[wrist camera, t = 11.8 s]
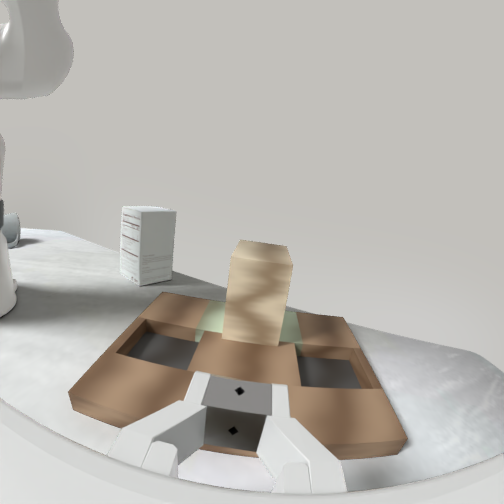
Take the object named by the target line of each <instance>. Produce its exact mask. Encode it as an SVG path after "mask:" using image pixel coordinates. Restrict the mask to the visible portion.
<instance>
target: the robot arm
mask: <svg viewBox="0 0 504 504" xmlns="http://www.w3.org/2000/svg"><path fill="white" fill-rule="evenodd" d="M0 1H1V2H2V3H3V4H4V5H5V6H6V7H7V9H8V12H9V23H0V99H27V98H35V97H41V96H48V95H50V94H51V93H52V92H53V91H55V90H56V89H57V88H58V87H59V86H60V85H61V83H62V82H63V81H64V79H65V78H66V76H67V75H68V73H69V70H70V68H71V65H72V62H73V54H74V53H73V52H74V51H73V43H72V40H71V38H70V36H69V35H68V33H67V32H66V31H65V29H64V27H63V25H62V23H61V20H60V17H59V12H58V0H0ZM4 155H5V143H4V140H3V137H2V136H1V134H0V317H1V316H3V315H5V314H6V313H7V312H9V311H10V310H11V309H12V308H13V307H14V305H15V304H16V301H17V297H16V294H15V291H16V289H17V282H16V280H15V279H13V278H12V272H11V267H10V260H9V254H8V247H7V240H6V237H5V236H4V235H3V233H2V230H1V228H2V227H3V225H4V208H3V206H4V204H3V200H1V191H2V176H3V165H4ZM203 444H208V445H214V446H220V447H227V448H234V449H240V450H246V451H253V452H256V453H257V455H258V457H259V458H260V460H261V461H262V463H263V464H264V466H265V467H266V469H267V470H268V472H269V473H270V475H271V476H272V478H273V479H274V481H275V482H276V483H275V485H274V487H273V489H272V491H271V493H269V492H257V491H247V490H238V489H231V488H224V487H218V486H212V485H207V484H201V483H196V482H192V481H187V480H183V479H179V478H178V465H179V464H180V463H182V462H183V461H184V460H186V459H187V458H188V457H189V456H191V455H192V454H193V453H194V452H195V451H197V450H198V449H199V448H200V447H202V446H203ZM0 504H504V453H502V454H500V455H497V456H495V457H493V458H490V459H488V460H485V461H483V462H480V463H477V464H475V465H472V466H469V467H466V468H463V469H460V470H457V471H454V472H451V473H447V474H444V475H441V476H437V477H433V478H429V479H425V480H421V481H417V482H412V483H407V484H402V485H397V486H391V487H385V488H378V489H371V490H363V491H353V492H347V488H346V483H345V478H344V473H343V469H342V464H341V461H339V460H338V459H337V458H336V457H335V456H334V455H333V454H332V453H331V452H330V451H329V450H327V449H326V448H325V447H324V446H323V445H322V444H321V443H320V442H319V441H318V440H317V439H316V438H315V437H314V436H313V435H312V434H311V433H310V432H309V431H308V430H306V429H305V428H304V427H303V426H302V425H301V424H300V423H299V422H298V421H297V420H296V419H295V418H291V417H290V405H289V394H288V386H287V385H284V384H273V383H272V384H269V383H261V382H253V381H246V380H241V379H235V378H230V377H225V376H220V375H215V374H210V373H205V372H200V371H196V372H195V373H194V375H193V378H192V380H191V383H190V385H189V388H188V391H187V393H186V396H185V398H184V401H181V400H178V401H176V402H175V403H173V404H171V405H169V406H167V407H165V408H163V409H161V410H159V411H157V412H155V413H153V414H151V415H149V416H147V417H145V418H143V419H140V420H138V421H136V422H134V423H132V424H130V425H128V426H125V427H123V428H122V429H121V431H120V433H119V434H118V436H117V438H116V440H115V441H114V443H113V445H112V447H111V448H110V450H109V452H108V454H107V456H106V455H104V454H101V453H99V452H97V451H94V450H92V449H90V448H87V447H85V446H83V445H81V444H79V443H76V442H74V441H72V440H70V439H68V438H66V437H64V436H62V435H60V434H58V433H56V432H55V431H53V430H51V429H49V428H47V427H45V426H44V425H42V424H40V423H38V422H37V421H35V420H33V419H32V418H30V417H28V416H27V415H25V414H24V413H22V412H20V411H19V410H17V409H16V408H14V407H13V406H11V405H10V404H8V403H7V402H5V401H4V400H3V399H1V398H0Z"/></svg>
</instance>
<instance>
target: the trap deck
mask: <svg viewBox="0 0 504 504" xmlns="http://www.w3.org/2000/svg"><path fill="white" fill-rule="evenodd" d="M225 304H226V302H220V301H214V300H208V299H202V298H196V297H190V296H184V295H178V294H173V293H167V292H162V293H161V294H160V295H159V296H158V297H157V298H156V299H155V300H154V301H153V302H152V303H151V304H150V305H149V306H148V307H147V308H146V309H145V310H144V311H143V312H142V313H141V314H140V315H139V316H138V317H137V319H136V320H135V321H134V322H133V323H132V324H131V325H130V326H129V327H128V328H127V329H126V330H125V331H124V332H123V333H122V334H121V335H120V336H119V337H118V338H117V339H116V340H115V341H114V343H113V344H112V345H111V346H110V347H109V348H108V349H107V350H106V351H105V352H104V353H103V354H102V355H101V356H100V357H99V359H98V360H97V361H96V362H95V363H94V364H93V365H92V366H91V367H90V368H89V369H88V370H87V372H86V373H85V374H84V375H83V376H82V377H81V378H80V379H79V380H78V381H77V382H76V384H75V385H74V386H73V387H72V388H71V389H70V390H69V391H68V393H69V397H70V400H71V404H72V407H73V410H75V411H77V412H80V413H82V414H85V415H87V416H89V417H92V418H94V419H97V420H100V421H102V422H105V423H108V424H110V425H113V426H116V427H119V428H123V427H125V426H128V425H130V424H132V423H134V422H136V421H138V420H140V419H143V418H145V417H147V416H149V415H151V414H153V413H155V412H157V411H159V410H161V409H163V408H165V407H167V406H169V405H171V404H173V403H175V402H176V401H178V400H181V401H184V398H185V396H186V393H187V391H188V388H189V385H190V383H191V380H192V378H193V375H194V373H195V372H196V371H200V372H205V373H210V374H215V375H220V376H225V377H230V378H235V379H241V380H246V381H253V382H261V383H269V384H272V383H273V384H284V385H287V386H288V394H289V405H290V417H291V418H295V419H296V420H297V421H298V422H299V423H300V424H301V425H302V426H303V427H304V428H305V429H306V430H308V431H309V432H310V433H311V434H312V435H313V436H314V437H315V438H316V439H317V440H318V441H319V442H320V443H321V444H322V445H323V446H324V447H325V448H326V449H327V450H329V451H330V452H331V453H332V454H333V455H334V456H335V457H336V458H337V459H338V460H345V459H360V458H372V457H381V456H389V455H397V454H398V453H399V451H400V450H401V448H402V447H403V445H404V444H405V442H406V441H407V439H408V438H407V436H406V434H405V432H404V430H403V428H402V426H401V424H400V422H399V420H398V418H397V416H396V414H395V412H394V410H393V408H392V406H391V404H390V402H389V400H388V398H387V396H386V394H385V393H384V391H383V389H382V387H381V385H380V383H379V381H378V379H377V377H376V376H375V374H374V372H373V370H372V368H371V366H370V364H369V363H368V361H367V359H366V357H365V355H364V353H363V352H362V350H361V348H360V346H359V344H358V343H357V341H356V339H355V337H354V335H353V334H352V332H351V330H350V328H349V327H348V325H347V323H346V321H345V320H344V318H343V317H336V316H327V315H317V314H309V313H300V312H292V311H285V313H284V318H283V323H282V328H281V333H280V338H279V343H278V346H269V345H262V344H254V343H247V342H240V341H233V340H227V339H222V331H223V322H224V313H225ZM199 449H202V450H207V451H213V452H219V453H226V454H232V455H240V456H248V457H258V455H257V453H256V452H253V451H246V450H240V449H234V448H227V447H220V446H214V445H208V444H203V446H202V447H200V448H199ZM258 458H259V457H258Z"/></svg>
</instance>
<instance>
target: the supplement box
mask: <svg viewBox="0 0 504 504" xmlns="http://www.w3.org/2000/svg"><path fill="white" fill-rule="evenodd" d="M175 223H176V211H174V210H171V209H166V208H161V207H155V206H123V207H122V221H121V243H120V245H121V246H120V274H121V275H122V276H124V277H125V278H127V279H129V280H130V281H132V282H133V283H135V284H137V285H138V286H142V285H147V284H152V283H157V282H162V281H167V280H171V279H172V263H173V248H174V234H175Z"/></svg>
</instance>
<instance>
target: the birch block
mask: <svg viewBox="0 0 504 504" xmlns="http://www.w3.org/2000/svg"><path fill="white" fill-rule="evenodd" d="M292 268H293V264H292V261H291V258H290V255H289V252H288V250H287V247H286V246H281V245H274V244H267V243H261V242H253V241H246V240H240V241H239V243H238V245H237V247H236V249H235V250H234V252H233V254H232V256H231V262H230V270H229V279H228V287H227V295H226V304H225V313H224V322H223V331H222V339H227V340H233V341H240V342H247V343H254V344H262V345H269V346H278V343H279V338H280V333H281V328H282V323H283V318H284V313H285V308H286V302H287V297H288V291H289V286H290V280H291V275H292Z"/></svg>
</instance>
